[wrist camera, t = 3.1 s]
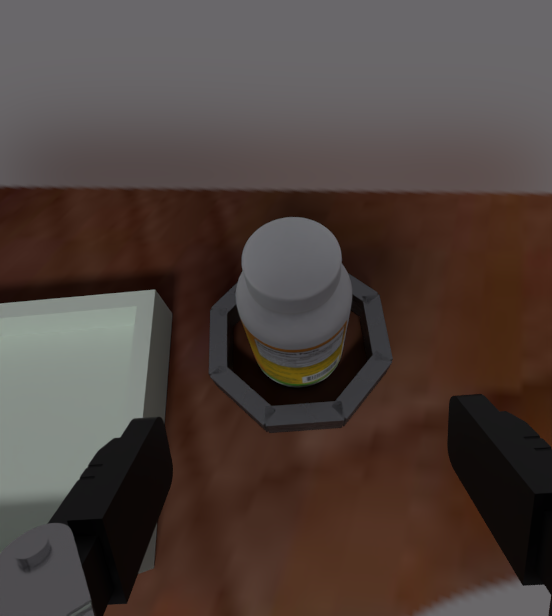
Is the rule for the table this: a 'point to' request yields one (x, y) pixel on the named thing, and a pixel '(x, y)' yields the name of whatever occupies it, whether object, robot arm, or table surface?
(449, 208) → the table surface
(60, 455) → the tray
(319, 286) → the supplement bottle
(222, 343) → the holder ring
